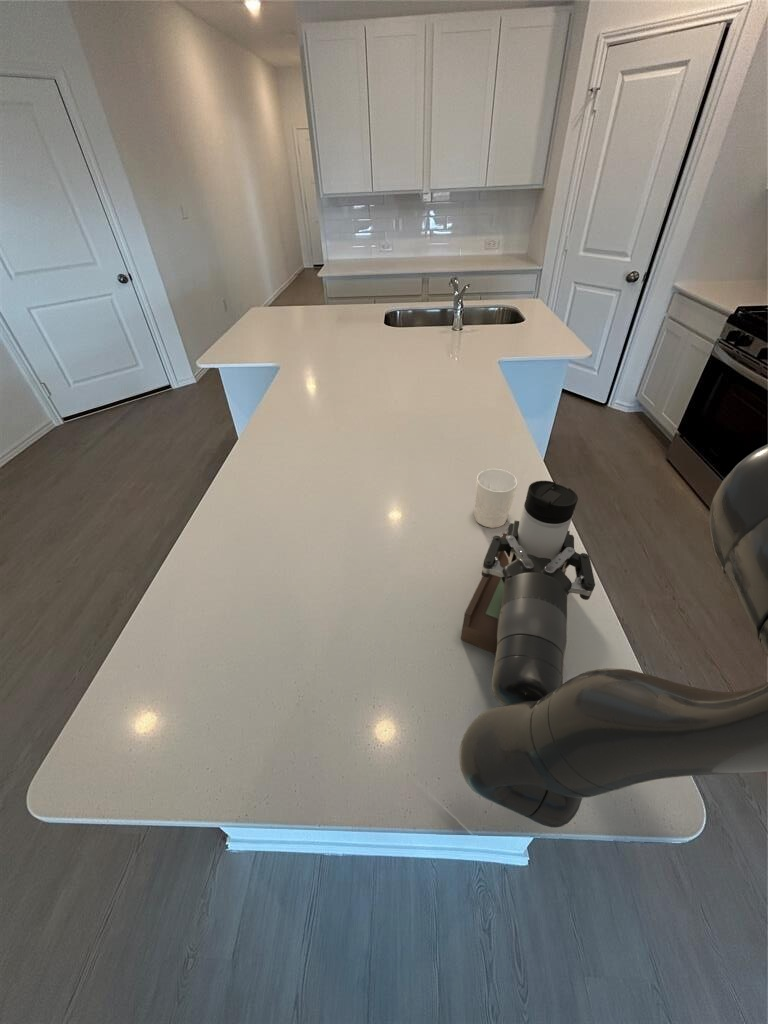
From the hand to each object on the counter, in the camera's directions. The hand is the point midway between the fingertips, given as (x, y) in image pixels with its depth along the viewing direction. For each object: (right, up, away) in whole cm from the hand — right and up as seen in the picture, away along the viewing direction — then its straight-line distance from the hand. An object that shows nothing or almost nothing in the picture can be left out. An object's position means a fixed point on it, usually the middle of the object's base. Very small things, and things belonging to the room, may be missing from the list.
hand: (540, 530), depth 64 cm
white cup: (0, +1, +30) cm, 30 cm away
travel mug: (-1, -10, +5) cm, 11 cm away
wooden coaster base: (0, -14, +12) cm, 19 cm away
